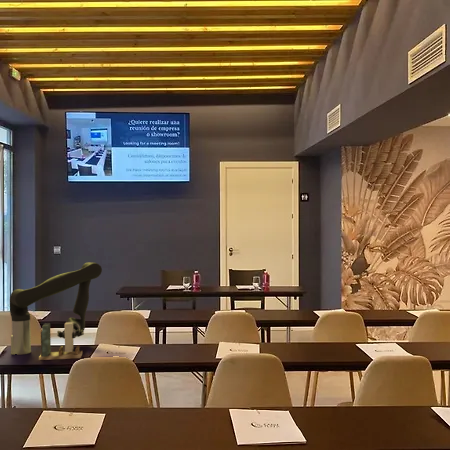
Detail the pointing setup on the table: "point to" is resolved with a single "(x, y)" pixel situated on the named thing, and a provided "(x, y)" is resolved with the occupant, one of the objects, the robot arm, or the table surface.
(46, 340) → the book rack
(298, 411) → the table surface
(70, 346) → the cream book
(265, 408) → the table surface
